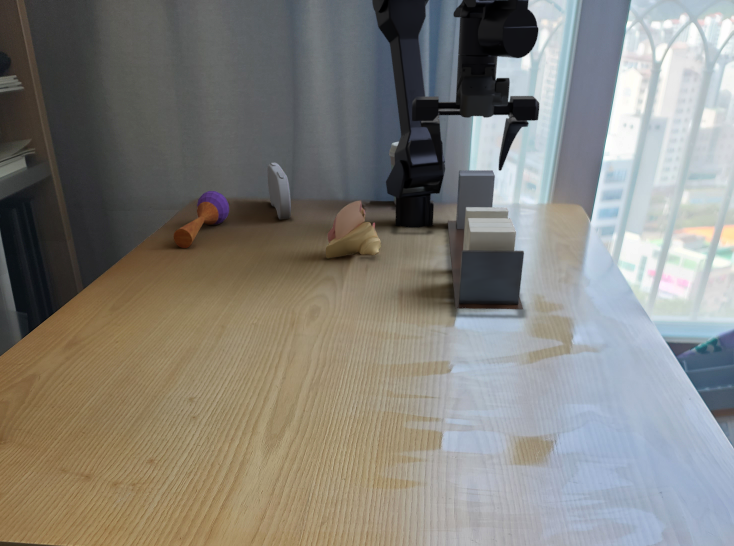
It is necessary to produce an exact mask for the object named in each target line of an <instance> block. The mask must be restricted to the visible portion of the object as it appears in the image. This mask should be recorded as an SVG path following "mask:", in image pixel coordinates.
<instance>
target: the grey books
mask: <svg viewBox="0 0 734 546" xmlns="http://www.w3.org/2000/svg"><path fill="white" fill-rule="evenodd" d="M495 181H496V175H495V172H494V170H490V169H489V170H488V169H487V170H485V169H484V170H482V169H480V170H479V169H475V170H472V169H471V170H467V169H466V170H464V169H463V170H458V179H457V197H456V216H455V221H456V226H457V229H464V228H465V213H466V207H493V204H494V192H495V191H494V190H495Z"/></svg>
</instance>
